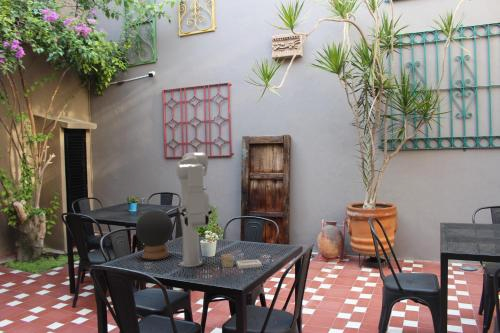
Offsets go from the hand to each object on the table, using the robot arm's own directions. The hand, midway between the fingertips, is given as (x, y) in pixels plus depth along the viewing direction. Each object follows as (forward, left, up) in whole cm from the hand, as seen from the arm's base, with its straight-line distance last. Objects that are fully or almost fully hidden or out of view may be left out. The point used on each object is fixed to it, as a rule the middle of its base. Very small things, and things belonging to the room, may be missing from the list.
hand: (196, 224), depth 218 cm
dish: (-31, +31, -31) cm, 54 cm away
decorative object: (-69, -22, -31) cm, 79 cm away
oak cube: (-35, +19, -31) cm, 50 cm away
